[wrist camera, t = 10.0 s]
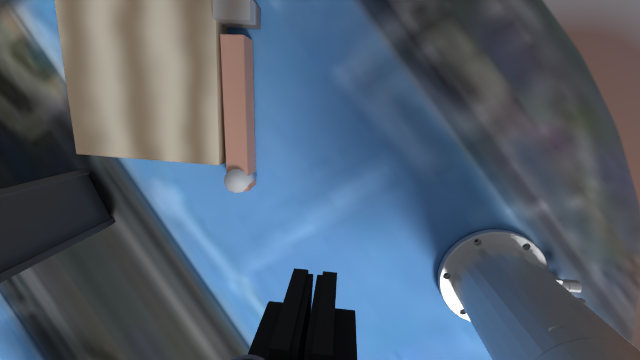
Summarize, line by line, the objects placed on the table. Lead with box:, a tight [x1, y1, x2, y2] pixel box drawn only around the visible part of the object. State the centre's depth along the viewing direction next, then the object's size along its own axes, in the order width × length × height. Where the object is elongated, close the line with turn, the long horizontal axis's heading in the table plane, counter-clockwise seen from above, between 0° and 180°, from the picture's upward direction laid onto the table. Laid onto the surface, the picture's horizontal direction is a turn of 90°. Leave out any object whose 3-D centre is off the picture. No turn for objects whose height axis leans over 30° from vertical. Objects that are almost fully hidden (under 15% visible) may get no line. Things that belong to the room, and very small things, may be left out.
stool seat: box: [54, 0, 261, 165], centre depth 33 cm, size 21×18×4 cm
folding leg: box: [220, 34, 256, 193], centre depth 33 cm, size 16×3×4 cm, turn 178°
